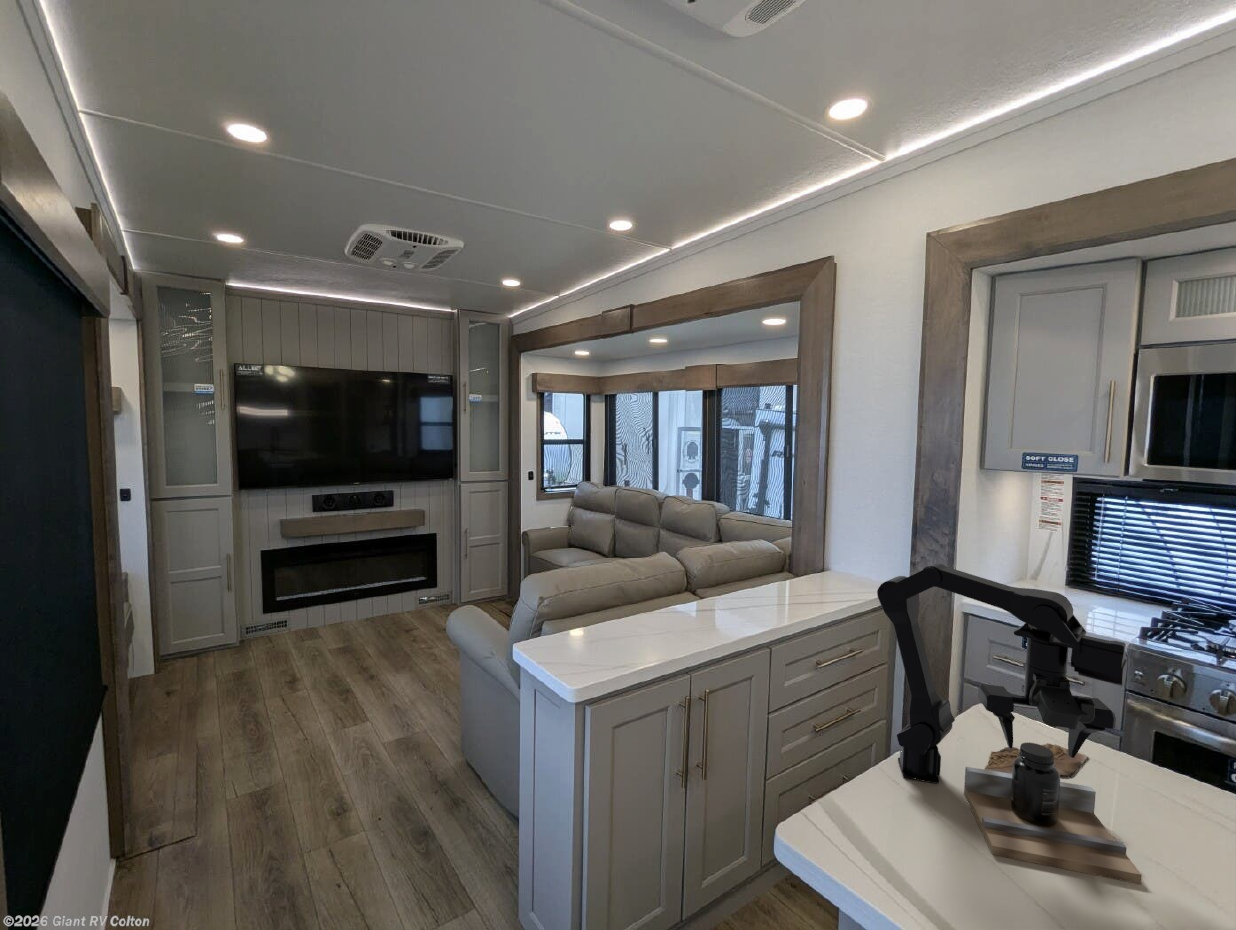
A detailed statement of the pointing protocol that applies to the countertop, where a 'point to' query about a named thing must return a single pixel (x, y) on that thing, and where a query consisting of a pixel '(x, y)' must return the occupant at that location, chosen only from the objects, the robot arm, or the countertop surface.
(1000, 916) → the countertop surface
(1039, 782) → the supplement bottle
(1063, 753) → the wooden fragment
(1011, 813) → the cleat board
